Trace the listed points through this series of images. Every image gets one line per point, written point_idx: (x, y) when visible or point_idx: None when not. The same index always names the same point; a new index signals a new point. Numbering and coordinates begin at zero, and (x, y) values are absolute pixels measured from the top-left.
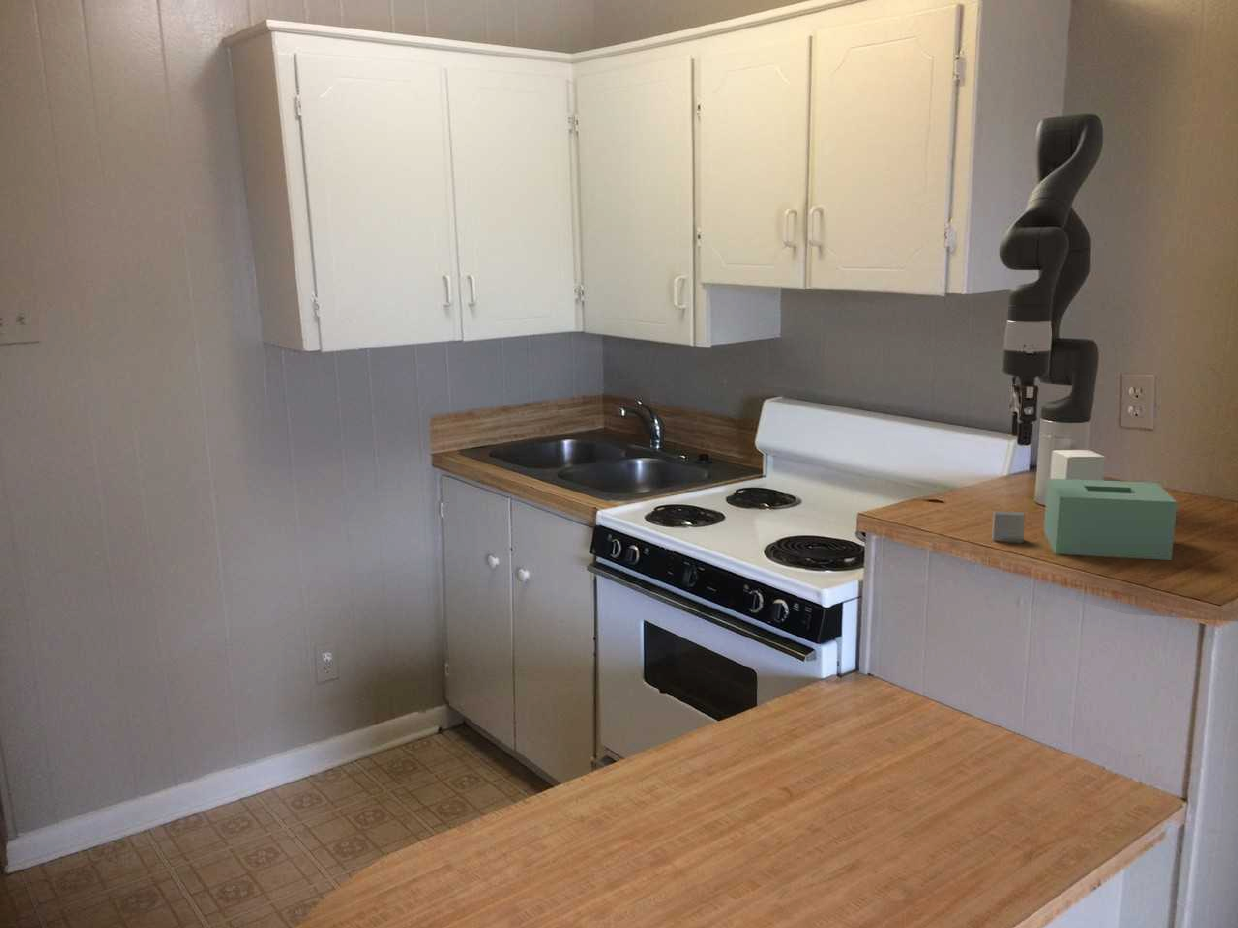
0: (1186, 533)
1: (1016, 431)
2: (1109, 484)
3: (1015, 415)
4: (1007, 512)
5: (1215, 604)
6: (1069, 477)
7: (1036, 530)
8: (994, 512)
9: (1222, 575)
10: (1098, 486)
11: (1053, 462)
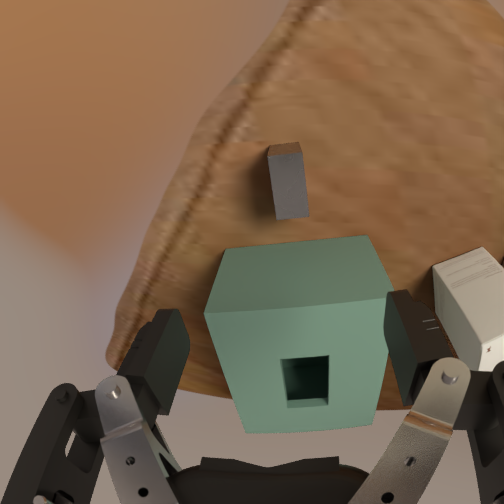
0: (382, 386)
1: (392, 317)
2: (350, 385)
3: (413, 372)
4: (295, 183)
5: (116, 367)
6: (464, 320)
7: (373, 223)
8: (285, 154)
9: (213, 393)
10: (330, 373)
11: None
